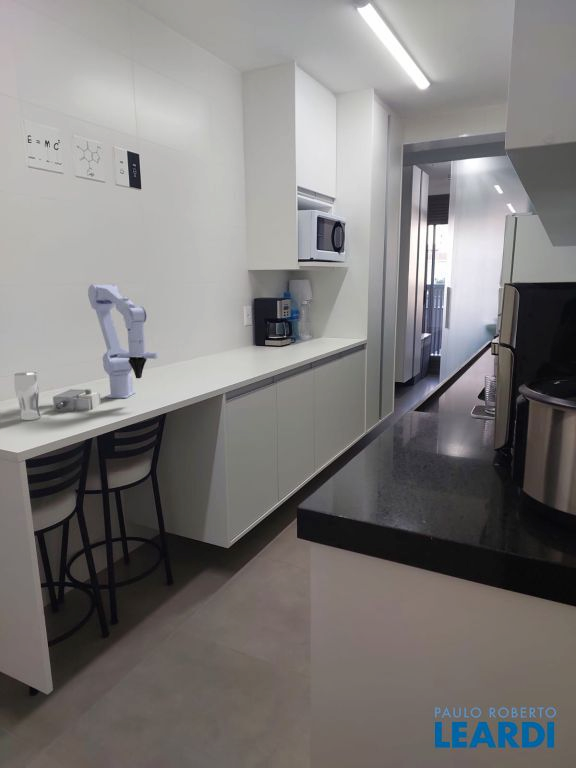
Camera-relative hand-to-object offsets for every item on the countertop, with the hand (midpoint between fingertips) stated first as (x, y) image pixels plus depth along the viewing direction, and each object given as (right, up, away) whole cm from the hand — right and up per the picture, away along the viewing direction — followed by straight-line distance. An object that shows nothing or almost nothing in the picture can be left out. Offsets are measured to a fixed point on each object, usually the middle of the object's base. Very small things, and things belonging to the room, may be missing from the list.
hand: (138, 377), depth 185 cm
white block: (-16, -11, -4) cm, 20 cm away
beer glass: (-30, -14, -19) cm, 38 cm away
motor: (-20, -11, -5) cm, 24 cm away
